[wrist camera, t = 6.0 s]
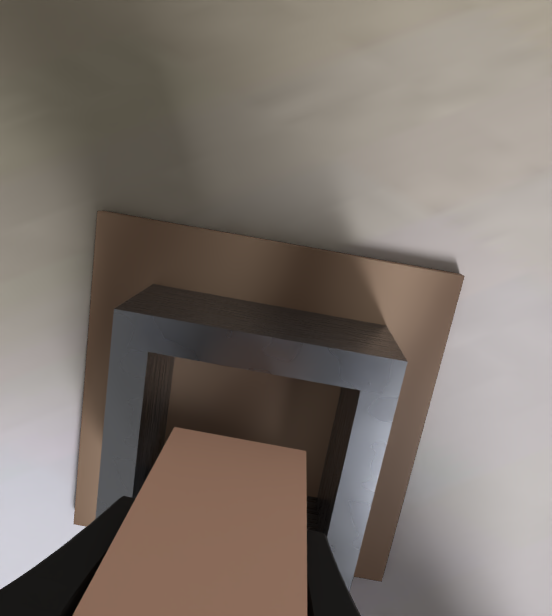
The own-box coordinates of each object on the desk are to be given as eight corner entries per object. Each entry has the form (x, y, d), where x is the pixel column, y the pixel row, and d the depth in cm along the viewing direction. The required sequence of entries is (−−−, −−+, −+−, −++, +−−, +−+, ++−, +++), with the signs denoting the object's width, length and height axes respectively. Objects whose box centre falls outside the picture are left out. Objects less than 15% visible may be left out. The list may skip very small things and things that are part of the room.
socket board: (460, 274, 19) (507, 300, 14) (380, 572, 22) (398, 667, 18) (102, 210, 19) (41, 217, 15) (78, 516, 22) (24, 596, 18)
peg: (306, 451, 14) (307, 755, 7) (283, 561, 16) (262, 938, 8) (174, 426, 15) (25, 702, 7) (160, 538, 16) (16, 888, 8)
